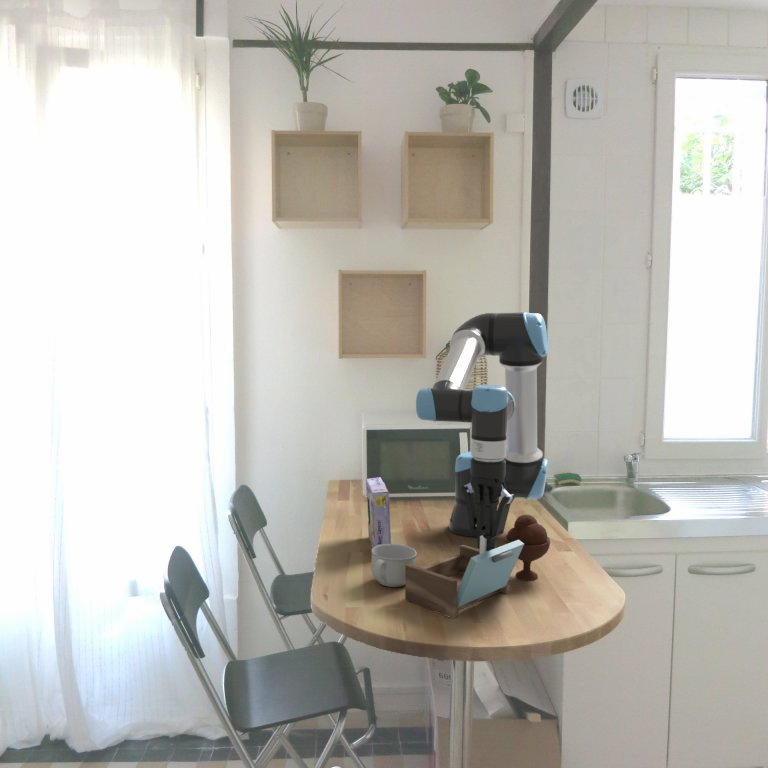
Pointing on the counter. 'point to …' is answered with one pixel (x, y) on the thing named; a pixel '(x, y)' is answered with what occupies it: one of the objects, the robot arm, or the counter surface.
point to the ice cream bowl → (529, 543)
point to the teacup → (391, 563)
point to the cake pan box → (378, 512)
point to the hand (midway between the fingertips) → (485, 564)
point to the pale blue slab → (488, 572)
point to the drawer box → (442, 583)
